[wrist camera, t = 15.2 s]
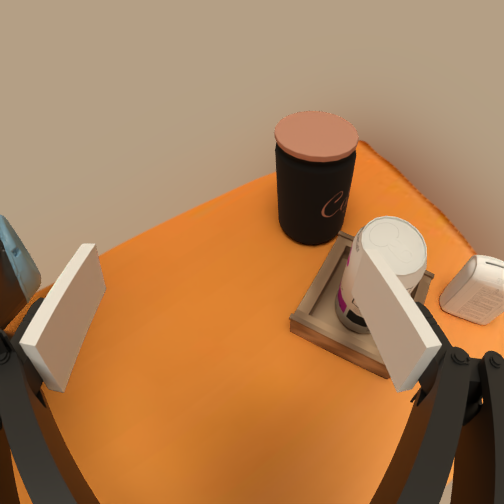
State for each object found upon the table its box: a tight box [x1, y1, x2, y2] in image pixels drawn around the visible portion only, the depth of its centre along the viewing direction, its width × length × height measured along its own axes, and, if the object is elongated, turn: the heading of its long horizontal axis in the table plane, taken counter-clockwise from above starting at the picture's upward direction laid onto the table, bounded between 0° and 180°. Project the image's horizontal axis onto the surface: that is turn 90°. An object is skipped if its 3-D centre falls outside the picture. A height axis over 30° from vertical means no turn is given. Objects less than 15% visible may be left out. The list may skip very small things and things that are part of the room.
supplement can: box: [335, 216, 427, 334], centre depth 33 cm, size 8×8×15 cm
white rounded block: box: [439, 255, 504, 325], centre depth 33 cm, size 10×4×12 cm, turn 64°
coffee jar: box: [275, 111, 359, 245], centre depth 43 cm, size 11×11×18 cm
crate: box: [289, 231, 434, 379], centre depth 38 cm, size 15×15×5 cm
